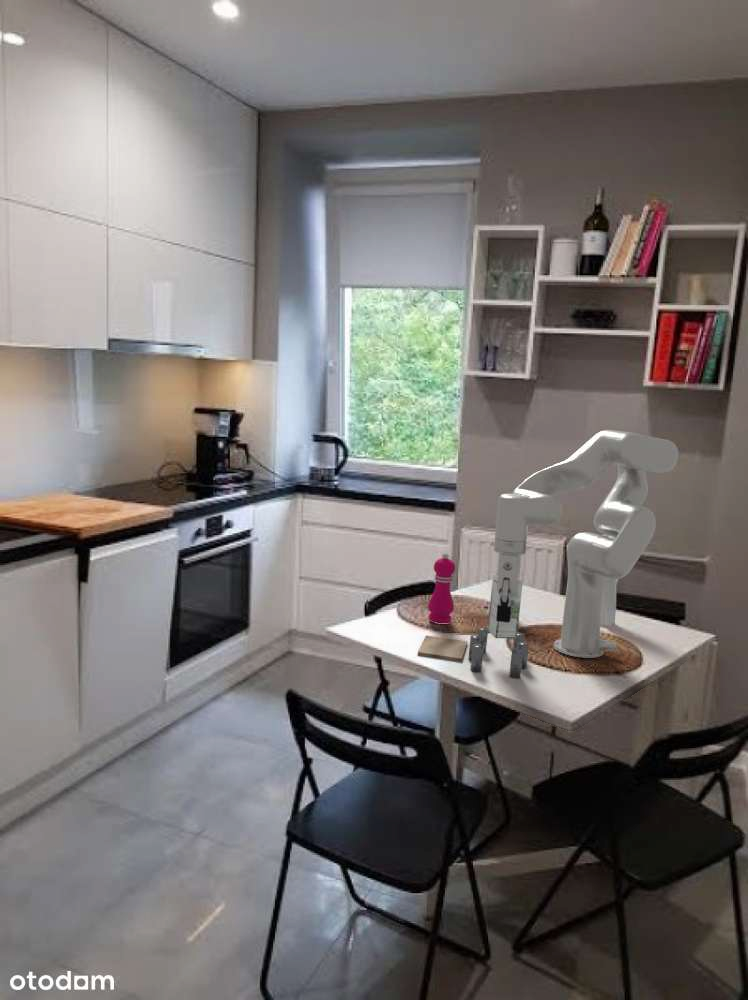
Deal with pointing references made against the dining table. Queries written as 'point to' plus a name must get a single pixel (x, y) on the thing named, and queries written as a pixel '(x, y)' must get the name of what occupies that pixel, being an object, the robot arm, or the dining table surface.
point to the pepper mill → (442, 591)
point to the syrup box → (510, 628)
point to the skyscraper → (609, 599)
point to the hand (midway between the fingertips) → (504, 615)
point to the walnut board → (442, 648)
